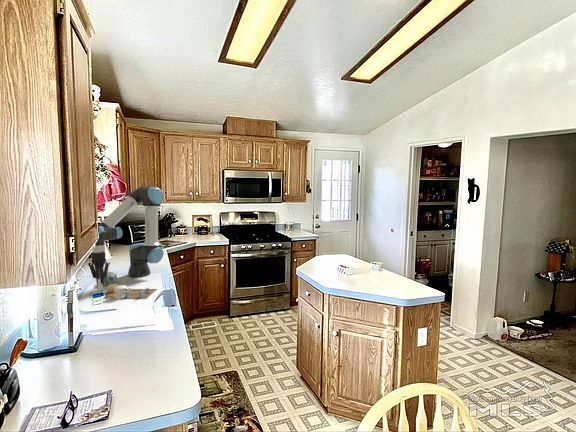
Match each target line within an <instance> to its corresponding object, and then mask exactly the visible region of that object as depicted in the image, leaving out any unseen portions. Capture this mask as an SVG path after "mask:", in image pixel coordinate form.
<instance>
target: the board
mask: <svg viewBox="0 0 576 432" xmlns="http://www.w3.org/2000/svg"><path fill="white" fill-rule="evenodd" d="M143 289H144V288H131V296H130V297H128V298H123V299H122V300H147V299H148V298H149V297H150V296H152V294H154V293H155V292H157V290H158V288H149V294H147V295H145V296H143V297H142V298H140V297H139V292H140V291H142V290H143ZM128 290H129V288H126V289H125V292H127V291H128ZM104 294H105V297H104V298H103V299H102V300H116V299H115V298H114V296H115V295H117V293H116V292H115V293H108V291H107V292H105V293H104Z"/></svg>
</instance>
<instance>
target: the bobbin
mask: <svg viewBox="0 0 576 432" xmlns="http://www.w3.org/2000/svg"><path fill="white" fill-rule="evenodd" d="M127 287H128V286H127V285H125V284H123V285H122V284H120V285H118V286H116V287H114V290H116V293H117V295H115V296H114V298H115V299H114V300H124V299H123V298H126V295H125V289H128V288H127Z"/></svg>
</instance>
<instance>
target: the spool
mask: <svg viewBox="0 0 576 432" xmlns="http://www.w3.org/2000/svg"><path fill="white" fill-rule="evenodd" d="M117 279H118V275H117V274H116V272H113V271H108V273H107V277H105V278H104V283H103V287H107V286H109V285H111V284H115V282H116V281H117Z"/></svg>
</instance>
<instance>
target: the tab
mask: <svg viewBox="0 0 576 432" xmlns="http://www.w3.org/2000/svg"><path fill="white" fill-rule="evenodd" d="M116 286H119V284H118V283H113V284H111V285H109V286H106V288H107V289H106V290H107V292H108V293H115V292H116V290H114V287H116Z"/></svg>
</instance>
